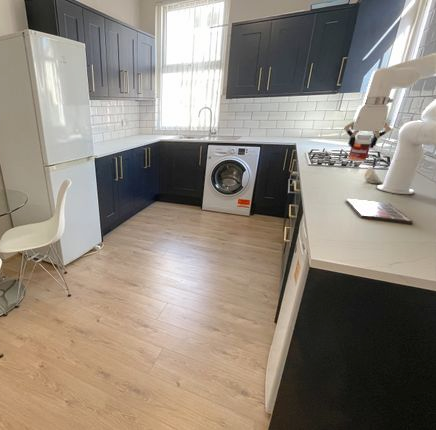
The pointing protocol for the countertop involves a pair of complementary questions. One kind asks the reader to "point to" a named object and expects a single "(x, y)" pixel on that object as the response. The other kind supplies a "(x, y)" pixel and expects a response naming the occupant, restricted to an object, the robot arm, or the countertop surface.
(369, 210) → the board
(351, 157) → the pill bottle
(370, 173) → the stone
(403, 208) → the countertop surface
